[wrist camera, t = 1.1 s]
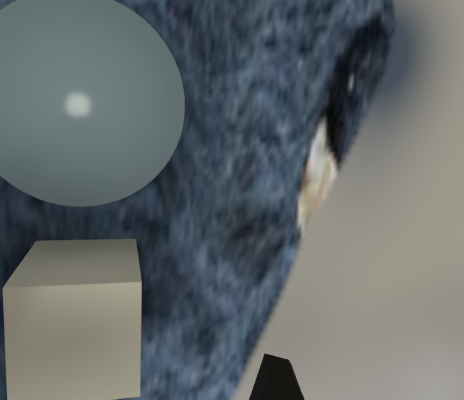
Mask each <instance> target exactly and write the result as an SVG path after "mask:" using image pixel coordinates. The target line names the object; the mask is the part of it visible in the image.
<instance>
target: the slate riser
mask: <svg viewBox="0 0 464 400" xmlns="http://www.w3.org/2000/svg"><path fill="white" fill-rule="evenodd" d="M184 114H185V97H184V90H183V84H182V80H181V76H180V73H179V69H178V67H177V65H176V62H175V60H174V58H173V56H172V54H171V52H170V51H169V49H168V47H167V45H166V44H165V42H164V41H163V40H162V38H161V37H160V36H159V35H158V33H157V32H156V31H155V30H154V29H153V28H152V27H151V26H150V25H149V24H148V23H147V22H146V21H145V20H144V19H143V18H141V17H140V16H139V15H138V14H136V13H135V12H134V11H132V10H130V9H129V8H127V7H126V6H124V5H122V4H120V3H118V2H116V1H114V0H16V1H15V2H13V3H11V4H9V5H7V6H5V7H4V8H3V9H1V10H0V176H1V177H2V178H4V179H5V180H6V181H8V182H9V183H10V184H11V185H13V186H15V187H16V188H18V189H20V190H21V191H23V192H24V193H27V194H29V195H31V196H33V197H35V198H38V199H40V200H44V201H47V202H50V203H54V204H59V205H65V206H77V207H85V206H97V205H102V204H108V203H111V202H114V201H117V200H121V199H123V198H125V197H127V196H129V195H131V194H133V193H135V192H137V191H138V190H140V189H141V188H143V187H144V186H146V185H147V184H148V183H149V182H150V181H152V180H153V179H154V178H155V177H156V176H157V175H158V174H159V173H160V172H161V171H162V169H163V168H164V167H165V165H166V164H167V163H168V161H169V160H170V158H171V156H172V154H173V153H174V151H175V149H176V147H177V144H178V141H179V139H180V136H181V132H182V128H183V123H184Z"/></svg>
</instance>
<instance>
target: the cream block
mask: <svg viewBox="0 0 464 400" xmlns="http://www.w3.org/2000/svg"><path fill="white" fill-rule="evenodd" d="M141 296H142V281H141V273H140V266H139V259H138V251H137V244H136V239H101V240H44V241H36V242H35V243H34V245H33V246H32V248H31V249H30V250H29V252H28V253H27V255H26V256H25V257H24V259H23V260H22V262H21V263H20V264H19V266H18V267H17V269H16V270H15V271H14V273H13V274H12V276H11V277H10V278H9V280H8V281H7V283H6V284H5V285H4V287H3V308H4V332H5V355H6V379H7V400H113V399H122V398H131V397H140V366H141Z"/></svg>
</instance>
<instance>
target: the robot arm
mask: <svg viewBox="0 0 464 400" xmlns="http://www.w3.org/2000/svg"><path fill="white" fill-rule="evenodd" d="M249 400H304V397H303V395H302V392H301V389H300V387H299V384H298V382H297V379H296V376H295V373H294V371H293V368H292V365H291V363H290V361H289V360H288V359H284V358H280V357H276V356H272V355H268V354H264V357H263V360H262V363H261V366H260V369H259V372H258V375H257V378H256V381H255V384H254V387H253V390H252V393H251V396H250V399H249Z"/></svg>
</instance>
